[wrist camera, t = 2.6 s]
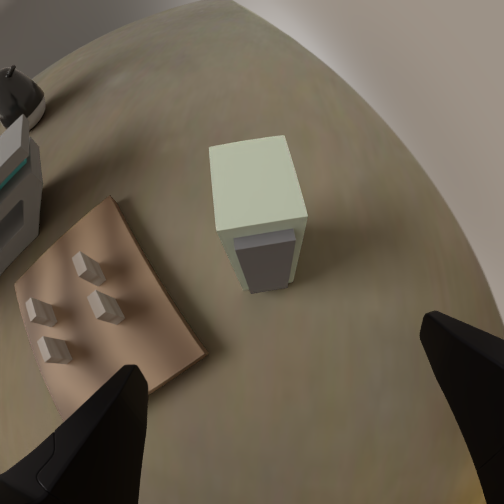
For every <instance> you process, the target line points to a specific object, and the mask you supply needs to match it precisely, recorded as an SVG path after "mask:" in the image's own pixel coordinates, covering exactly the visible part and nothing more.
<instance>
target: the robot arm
mask: <svg viewBox="0 0 504 504" xmlns="http://www.w3.org/2000/svg"><path fill="white" fill-rule="evenodd" d="M420 340H421V343H422V345H423V347H424V350H425V352H426V355H427V357H428V360H429V362H430V365H431V367H432V370H433V372H434V375H435V377H436V379H437V381H438V383H439V385H440V387H441V389H442V391H443V393H444V395H445V397H446V399H447V401H448V403H449V406H450V408H451V410H452V412H453V414H454V416H455V419H456V421H457V423H458V425H459V428H460V430H461V432H462V435H463V437H464V439H465V442H466V444H467V447H468V449H469V452H470V455H471V457H472V460H473V463H474V465H475V468H476V470H477V474H478V477H479V480H480V483H481V486H482V489H483V493H484V496H485V499H486V503H487V504H504V340H503V339H501V338H499V337H496V336H494V335H492V334H489V333H487V332H485V331H483V330H480V329H478V328H476V327H473V326H471V325H469V324H466V323H464V322H462V321H459V320H457V319H455V318H452V317H450V316H448V315H445V314H443V313H441V312H438V311H432V312H429V313H426V314H425V315H424V317H423V321H422V325H421V330H420ZM147 408H148V382H147V380H146V379H145V377H144V375H143V373H142V372H141V370H140V368H139V367H138V366H137V365H135V364H127V365H124V366H123V367H121V368H120V369H119V370H118V371H117V372H116V373H115V374H114V375H113V376H112V377H111V378H110V379H109V380H108V381H107V382H106V383H105V384H103V385H102V386H101V387H100V388H99V389H98V390H97V391H96V392H95V393H94V394H93V395H92V396H91V397H90V398H89V399H88V400H87V401H86V402H84V403H83V404H82V405H81V406H80V407H79V408H78V409H77V410H76V411H75V412H74V413H73V414H72V415H71V416H70V417H69V418H68V419H67V420H65V421H64V422H63V423H62V424H61V425H60V426H59V427H58V428H57V429H56V430H55V433H54V432H53V433H52V434H51V435H50V436H49V437H48V438H47V439H45V440H44V441H43V442H42V443H41V444H40V445H39V446H38V447H37V448H35V449H34V450H33V451H32V452H31V453H29V454H28V455H27V456H26V457H24V458H23V459H22V460H20V461H19V462H18V463H17V464H15V465H14V466H13V467H11V468H10V469H9V470H7V471H6V472H4V473H3V474H0V504H138V499H139V487H140V477H141V468H142V460H143V452H144V444H145V437H146V429H147Z"/></svg>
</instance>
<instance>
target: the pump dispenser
mask: <svg viewBox="0 0 504 504" xmlns="http://www.w3.org/2000/svg"><path fill="white" fill-rule="evenodd" d="M15 68H16V66H15V65H12V66H11V67H10V68H8V67H7V68H3V69H1V70H0V121H1V123H2V124H3V126H4V127H5V129H6V130H7V129H8V128H9V127H10V126H11V125H12V124H13V123H14V122H15V121H16V120H17V119H18V118H19V117H20V116H21V115H22V114H24V116H25V117H26V118H27V119H28V121H29V130H30V129H32V128H33V127H34V126H35V125H36V124H37V123H38V122H39V120H40V119H41V117H42V116H43V113H44V111H45V106H46V102H45V98H44V92H43V91H42V89H41V88H40V87H39V86H38V85H37V84H36V83H35V82H34V81H33V80H32V79H30V78H29V77H28V76H26V75H25V74H23V73H22V72H20V71H18V70H16V69H15Z"/></svg>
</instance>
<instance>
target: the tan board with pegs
mask: <svg viewBox="0 0 504 504" xmlns="http://www.w3.org/2000/svg"><path fill="white" fill-rule="evenodd" d="M14 286H15V291H16V295H17V299H18V304H19V308H20V312H21V315H22V319H23V322H24V326H25V329H26V333H27V336H28V339H29V342H30V345H31V348H32V351H33V354H34V356H35V359H36V362H37V364H38V367H39V370H40V372H41V375H42V377H43V379H44V382H45V384H46V386H47V389H48V391H49V393H50V395H51V397H52V399H53V402H54V404H55V406H56V408H57V410H58V412H59V414H60V416H61V417H62V419H63V421H65V420H67V419H68V418H69V417H70V416H71V415H72V414H73V413H74V412H75V411H76V410H77V409H78V408H79V407H80V406H81V405H82V404H83V403H84V402H86V401H87V400H88V399H89V398H90V397H91V396H92V395H93V394H94V393H95V392H96V391H97V390H98V389H99V388H100V387H101V386H102V385H103V384H105V383H106V382H107V381H108V380H109V379H110V378H111V377H112V376H113V375H114V374H115V373H116V372H117V371H118V370H119V369H120V368H121V367H123V366H124V365H127V364H135V365H137V366H138V367H139V368H140V370H141V372H142V373H143V375H144V377H145V379H146V380H147V382H148V395H149V394H151V393H152V392H154V391H155V390H157V389H159V388H160V387H162V386H163V385H165V384H166V383H168V382H169V381H171V380H172V379H174V378H175V377H177V376H178V375H180V374H181V373H182V372H184V371H185V370H187V369H188V368H190V367H191V366H193V365H194V364H196V363H197V362H198V361H200V360H201V359H203V358H204V357H206V356H207V355H208V354H209V353H208V352H207V350H206V349H205V348H204V346H203V345H202V343H201V342H200V340H199V339H198V338H197V336H196V335H195V333H194V332H193V330H192V329H191V327H190V326H189V325H188V323H187V322H186V320H185V319H184V317H183V316H182V314H181V313H180V311H179V309H178V308H177V306H176V305H175V303H174V302H173V300H172V299H171V297H170V296H169V294H168V292H167V291H166V289H165V288H164V286H163V284H162V283H161V281H160V279H159V278H158V276H157V275H156V273H155V271H154V270H153V268H152V266H151V264H150V263H149V261H148V259H147V258H146V256H145V254H144V252H143V251H142V249H141V247H140V245H139V244H138V242H137V240H136V238H135V237H134V235H133V233H132V231H131V229H130V227H129V226H128V224H127V222H126V220H125V218H124V216H123V214H122V212H121V210H120V208H119V206H118V205H117V203H116V201H115V200H114V199H113V198H112V197H111V196H108V197H107V198H106V199H105V200H103V201H102V202H101V203H100V204H98V205H97V206H96V207H95V208H93V209H92V210H91V211H90V212H89V213H87V214H86V215H85V216H84V217H83V218H82V219H80V220H79V221H78V222H77V223H76V224H75V225H73V226H72V227H71V228H70V229H69V230H68V231H67V232H66V233H65V234H63V235H62V236H61V237H60V238H59V239H58V240H57V241H56V242H55V243H54V244H53V245H52V246H51V247H50V248H49V249H48V250H47V251H46V252H44V253H43V254H42V255H41V256H40V257H39V258H38V259H37V260H36V262H35V263H34V264H33V265H32V266H31V267H30V268H29V269H28V270H27V271H26V272H25V273H24V274H23V275H22V276H21V277H20V278H19V280H18V281H17V282H16V283H15V284H14Z"/></svg>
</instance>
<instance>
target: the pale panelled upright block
mask: <svg viewBox="0 0 504 504" xmlns="http://www.w3.org/2000/svg"><path fill="white" fill-rule="evenodd" d="M209 155H210V167H211V179H212V190H213V201H214V212H215V222H216V231H217V234H218V236H219V238H220V240H221V243H222V245H223V247H224V249H225V251H226V254H227V256H228V258H229V260H230V262H231V265H232V267H233V269H234V271H235V273H236V276H237V278H238V280H239V282H240V284H241V287H242V289H243V290H250V293H251V294H253V293H259V292H265V291H271V290H277V289H283V288H287V287H288V283H291V282H293V280H294V276H295V271H296V267H297V263H298V259H299V254H300V250H301V246H302V241H303V237H304V232H305V227H306V223H307V218H308V215H307V211H306V207H305V204H304V200H303V196H302V193H301V189H300V186H299V182H298V179H297V175H296V172H295V169H294V165H293V162H292V159H291V155H290V152H289V149H288V146H287V143H286V139H285V136H284V135H282V136H274V137H266V138H259V139H252V140H246V141H240V142H234V143H228V144H223V145H217V146H212V147H209Z"/></svg>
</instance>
